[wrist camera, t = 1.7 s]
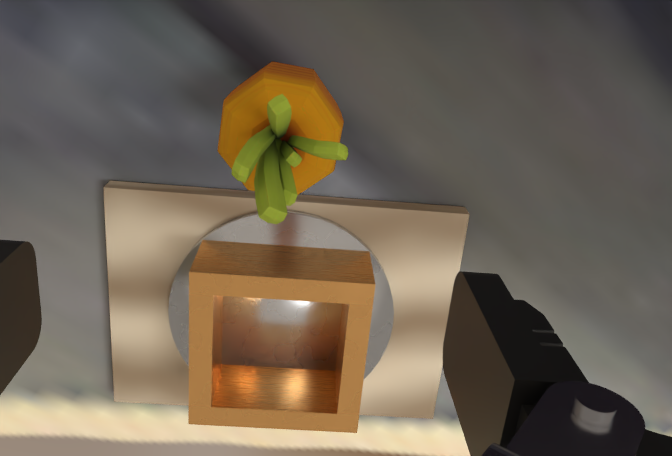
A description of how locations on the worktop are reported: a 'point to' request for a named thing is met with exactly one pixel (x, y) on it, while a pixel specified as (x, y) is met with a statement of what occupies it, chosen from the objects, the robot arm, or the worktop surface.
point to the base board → (225, 204)
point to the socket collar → (280, 323)
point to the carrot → (280, 135)
